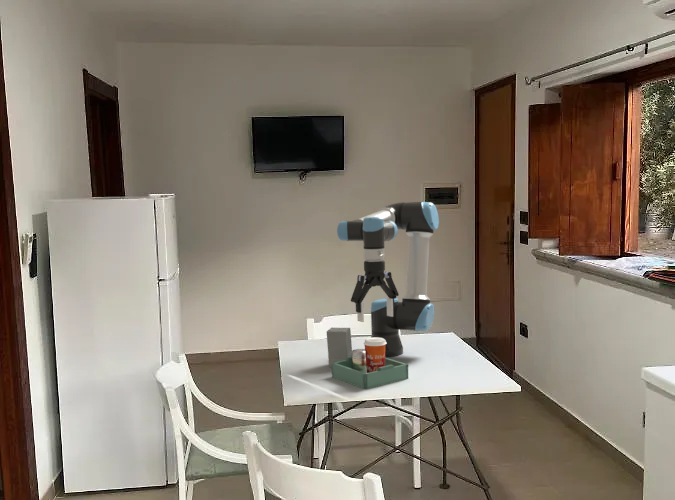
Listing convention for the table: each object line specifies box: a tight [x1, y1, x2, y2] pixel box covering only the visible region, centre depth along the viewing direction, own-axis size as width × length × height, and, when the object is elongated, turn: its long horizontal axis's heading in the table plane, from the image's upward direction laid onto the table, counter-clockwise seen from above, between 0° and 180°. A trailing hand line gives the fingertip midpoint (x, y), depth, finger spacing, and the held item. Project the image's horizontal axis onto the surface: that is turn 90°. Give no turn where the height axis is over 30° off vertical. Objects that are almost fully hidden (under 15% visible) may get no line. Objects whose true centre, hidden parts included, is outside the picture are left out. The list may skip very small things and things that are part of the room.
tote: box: [331, 356, 409, 390], centre depth 241 cm, size 20×20×7 cm
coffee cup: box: [363, 337, 387, 373], centre depth 237 cm, size 8×8×15 cm
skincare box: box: [326, 327, 353, 369], centre depth 257 cm, size 8×7×16 cm
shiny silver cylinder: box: [352, 348, 367, 373], centre depth 245 cm, size 6×6×9 cm
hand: (375, 318), depth 236 cm, fingers open, 13 cm apart
